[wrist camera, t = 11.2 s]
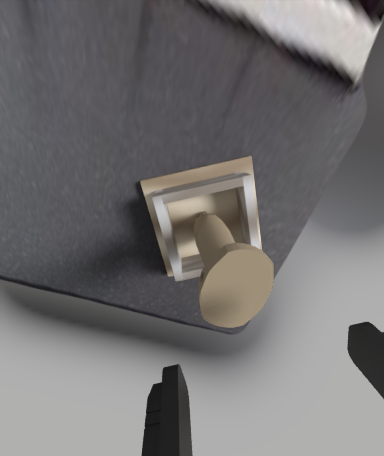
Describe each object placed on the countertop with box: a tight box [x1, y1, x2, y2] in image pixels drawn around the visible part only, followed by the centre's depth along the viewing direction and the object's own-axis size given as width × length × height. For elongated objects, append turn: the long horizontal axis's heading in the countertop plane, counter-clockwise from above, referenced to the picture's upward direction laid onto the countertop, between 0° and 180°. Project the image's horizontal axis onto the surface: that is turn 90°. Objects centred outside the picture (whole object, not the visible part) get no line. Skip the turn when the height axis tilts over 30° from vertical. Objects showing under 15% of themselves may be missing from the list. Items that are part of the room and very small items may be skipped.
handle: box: [194, 211, 273, 327], centre depth 22 cm, size 5×6×15 cm
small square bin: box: [140, 156, 262, 282], centre depth 28 cm, size 14×14×5 cm
